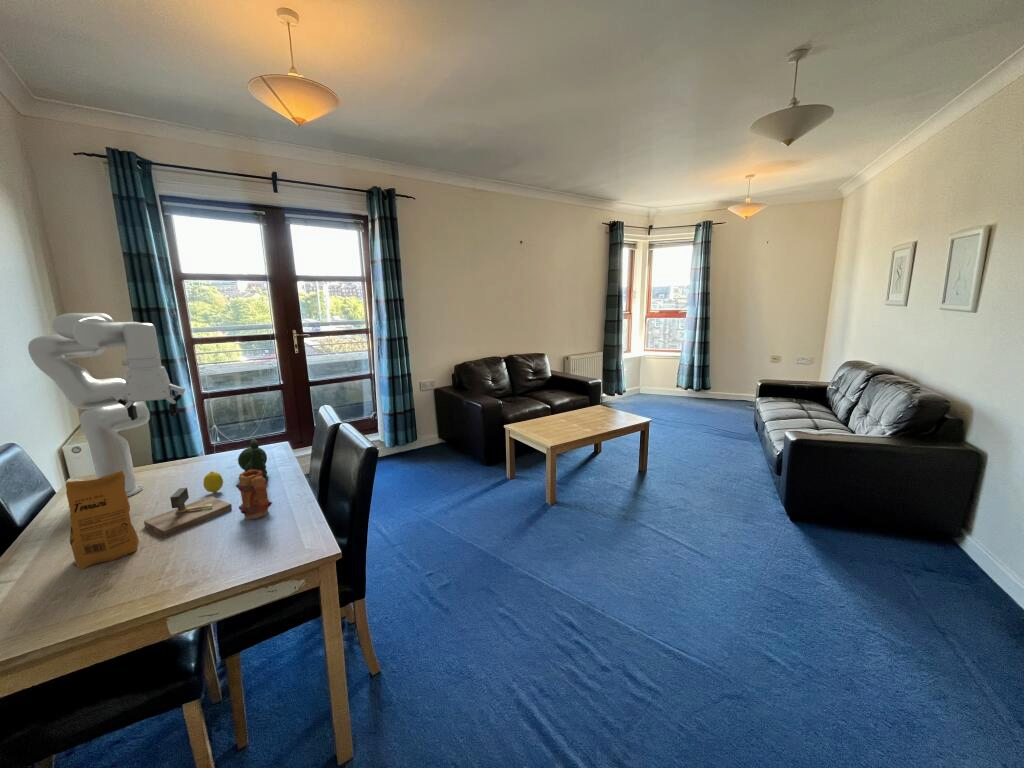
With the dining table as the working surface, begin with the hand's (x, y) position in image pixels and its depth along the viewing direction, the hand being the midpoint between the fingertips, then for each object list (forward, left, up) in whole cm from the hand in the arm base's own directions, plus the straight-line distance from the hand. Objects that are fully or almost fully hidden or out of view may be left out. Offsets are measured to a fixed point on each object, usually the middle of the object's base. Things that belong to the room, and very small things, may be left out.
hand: (154, 417), depth 128 cm
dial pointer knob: (+15, 0, -28) cm, 32 cm away
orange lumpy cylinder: (+34, +9, -31) cm, 47 cm away
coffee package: (+17, -21, -31) cm, 41 cm away
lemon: (+3, +12, -31) cm, 33 cm away
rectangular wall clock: (+15, -1, -30) cm, 34 cm away
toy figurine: (+4, +26, -31) cm, 40 cm away
